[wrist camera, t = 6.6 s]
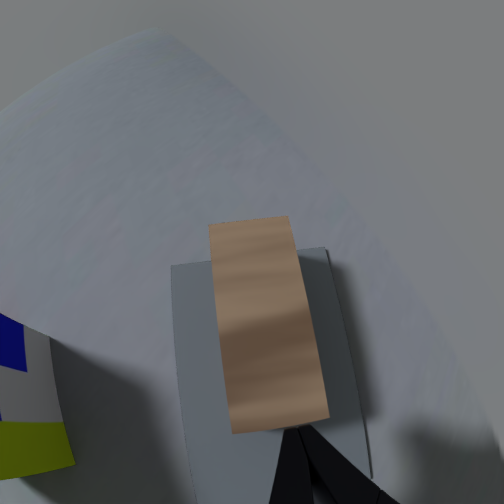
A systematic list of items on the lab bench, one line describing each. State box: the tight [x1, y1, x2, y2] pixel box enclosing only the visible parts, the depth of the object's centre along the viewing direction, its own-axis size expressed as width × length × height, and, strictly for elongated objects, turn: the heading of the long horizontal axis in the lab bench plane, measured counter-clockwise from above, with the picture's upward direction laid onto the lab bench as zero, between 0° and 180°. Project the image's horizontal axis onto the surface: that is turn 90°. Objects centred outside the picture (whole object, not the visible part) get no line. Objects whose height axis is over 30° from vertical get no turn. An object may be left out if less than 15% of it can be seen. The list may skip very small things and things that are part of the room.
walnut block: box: [209, 216, 330, 434], centre depth 16 cm, size 4×4×11 cm
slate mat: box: [171, 247, 371, 504], centre depth 17 cm, size 17×11×1 cm, turn 8°
